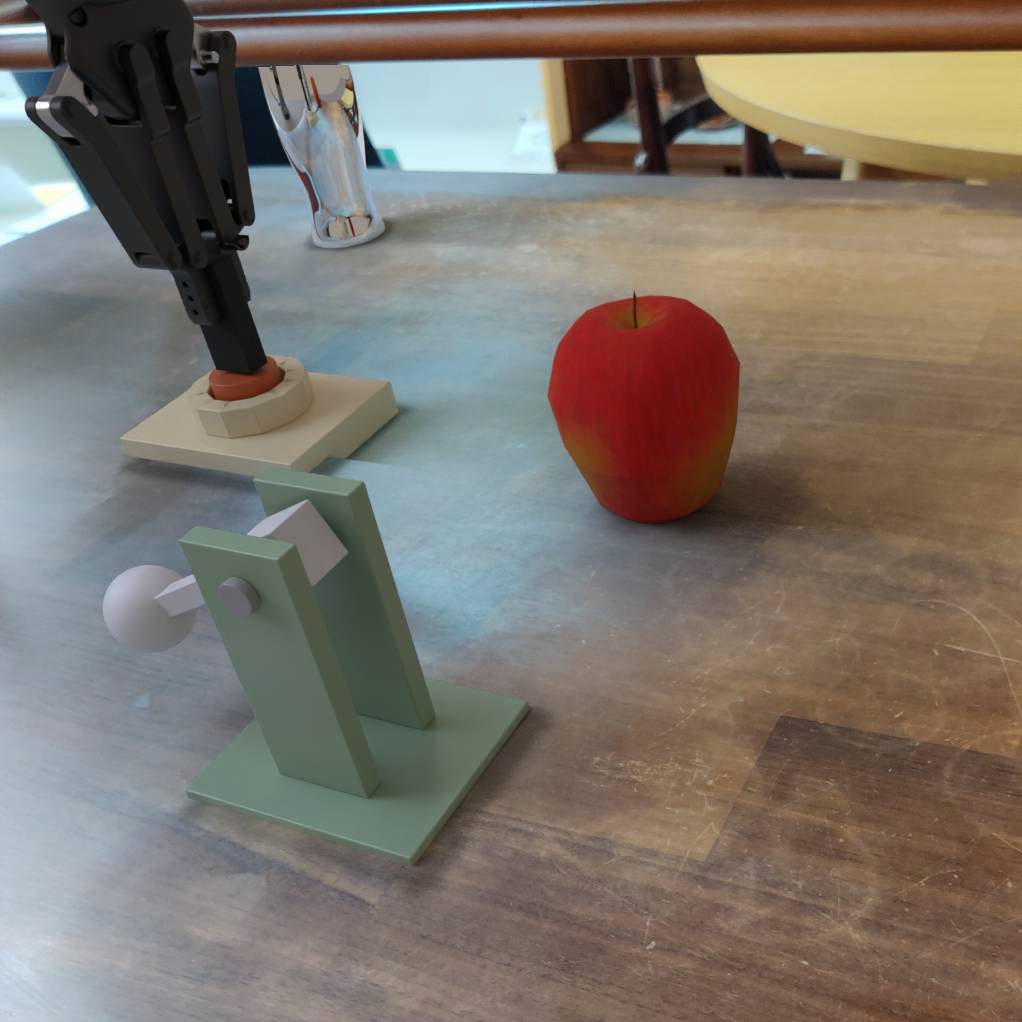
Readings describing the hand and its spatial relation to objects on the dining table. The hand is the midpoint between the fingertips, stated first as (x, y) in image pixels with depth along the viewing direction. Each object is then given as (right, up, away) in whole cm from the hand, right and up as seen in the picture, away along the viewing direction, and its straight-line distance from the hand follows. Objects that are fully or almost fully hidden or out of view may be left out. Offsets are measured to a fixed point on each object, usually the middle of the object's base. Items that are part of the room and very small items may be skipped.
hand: (242, 365), depth 71 cm
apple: (+24, -9, -8) cm, 27 cm away
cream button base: (+1, -4, +3) cm, 5 cm away
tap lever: (+8, -15, -24) cm, 29 cm away
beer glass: (-1, +18, +31) cm, 35 cm away
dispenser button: (0, -1, +1) cm, 2 cm away
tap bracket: (+12, -21, -21) cm, 32 cm away
